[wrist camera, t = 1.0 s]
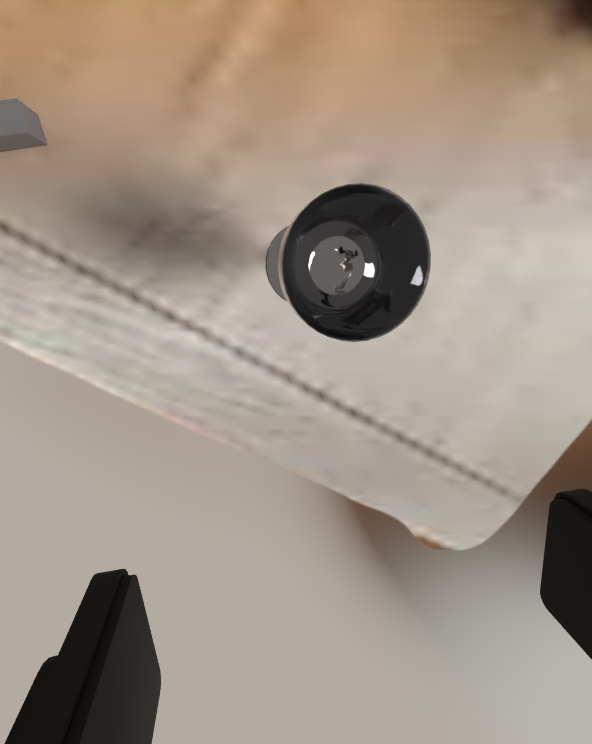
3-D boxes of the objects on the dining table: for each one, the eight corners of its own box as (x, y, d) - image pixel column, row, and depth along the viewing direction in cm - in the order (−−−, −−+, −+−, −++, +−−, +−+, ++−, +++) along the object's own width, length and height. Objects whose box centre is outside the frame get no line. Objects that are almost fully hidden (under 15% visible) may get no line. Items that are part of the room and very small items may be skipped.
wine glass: (242, 258, 34) (249, 254, 20) (314, 196, 34) (374, 146, 19) (300, 329, 36) (344, 371, 22) (368, 271, 36) (458, 277, 22)
